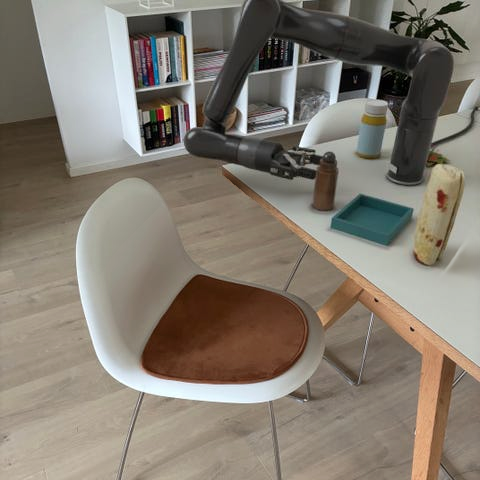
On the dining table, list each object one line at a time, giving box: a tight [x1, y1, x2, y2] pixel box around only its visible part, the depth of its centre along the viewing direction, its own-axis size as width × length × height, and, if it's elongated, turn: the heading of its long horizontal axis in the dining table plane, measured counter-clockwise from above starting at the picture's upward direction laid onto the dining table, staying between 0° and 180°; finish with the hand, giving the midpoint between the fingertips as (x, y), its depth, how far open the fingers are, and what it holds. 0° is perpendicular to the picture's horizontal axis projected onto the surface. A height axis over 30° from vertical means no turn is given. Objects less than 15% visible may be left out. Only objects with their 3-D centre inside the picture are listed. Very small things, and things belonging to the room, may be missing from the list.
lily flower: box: [426, 145, 452, 167], centre depth 152 cm, size 12×12×5 cm
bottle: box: [355, 98, 389, 160], centre depth 151 cm, size 7×7×15 cm
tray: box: [330, 193, 415, 247], centre depth 121 cm, size 16×14×3 cm
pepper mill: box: [311, 150, 340, 213], centre depth 123 cm, size 6×6×14 cm
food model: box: [412, 163, 466, 267], centre depth 104 cm, size 10×7×20 cm
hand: (322, 168), depth 122 cm, fingers open, 8 cm apart
